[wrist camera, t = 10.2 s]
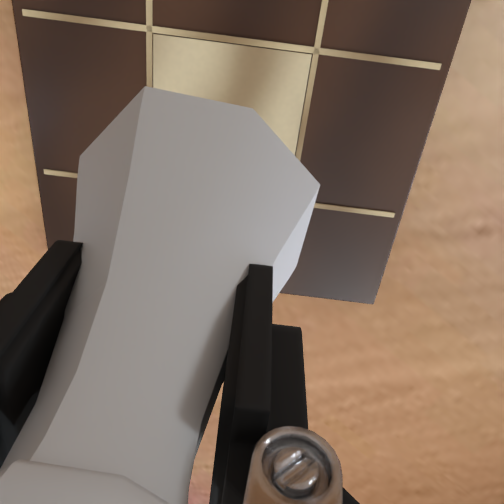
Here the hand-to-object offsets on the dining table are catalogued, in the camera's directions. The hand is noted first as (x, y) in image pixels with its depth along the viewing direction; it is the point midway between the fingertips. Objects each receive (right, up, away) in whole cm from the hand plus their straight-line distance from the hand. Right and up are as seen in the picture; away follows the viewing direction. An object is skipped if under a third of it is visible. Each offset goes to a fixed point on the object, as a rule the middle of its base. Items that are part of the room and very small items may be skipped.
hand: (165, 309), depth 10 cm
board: (+1, +9, +16) cm, 18 cm away
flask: (0, +3, +4) cm, 5 cm away
